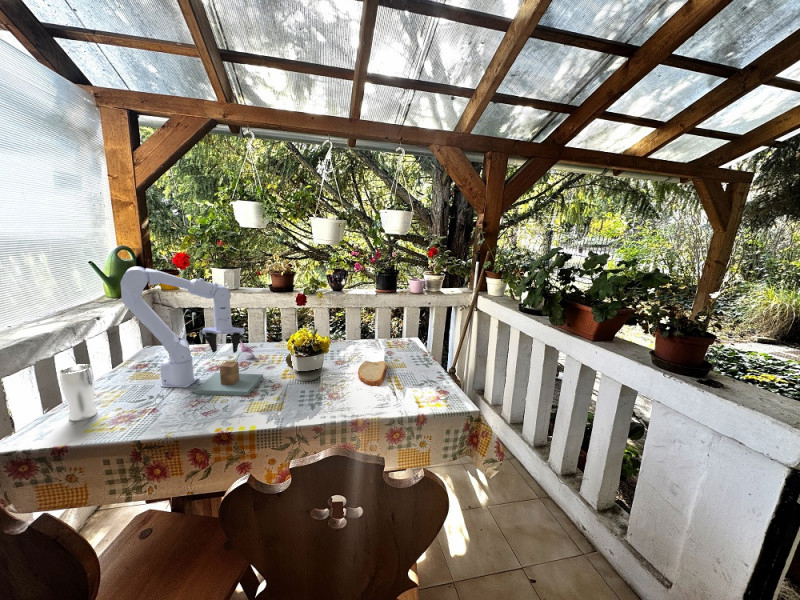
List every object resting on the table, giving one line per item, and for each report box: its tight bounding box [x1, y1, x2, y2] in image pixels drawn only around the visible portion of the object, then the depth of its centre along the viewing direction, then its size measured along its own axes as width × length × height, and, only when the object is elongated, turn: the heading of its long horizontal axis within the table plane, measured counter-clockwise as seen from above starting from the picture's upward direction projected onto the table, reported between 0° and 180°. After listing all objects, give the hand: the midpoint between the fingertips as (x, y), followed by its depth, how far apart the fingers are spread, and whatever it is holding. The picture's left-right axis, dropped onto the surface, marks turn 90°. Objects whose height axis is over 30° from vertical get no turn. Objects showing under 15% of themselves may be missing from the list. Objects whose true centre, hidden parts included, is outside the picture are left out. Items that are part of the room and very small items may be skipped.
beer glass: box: [59, 363, 98, 422], centre depth 98 cm, size 7×7×15 cm
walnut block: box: [219, 360, 240, 385], centre depth 120 cm, size 4×4×7 cm
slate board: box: [193, 372, 264, 396], centre depth 122 cm, size 18×14×2 cm
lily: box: [235, 339, 256, 361], centre depth 146 cm, size 12×12×10 cm
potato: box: [285, 353, 294, 370], centre depth 136 cm, size 8×13×8 cm, turn 94°
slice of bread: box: [357, 360, 388, 387], centre depth 137 cm, size 18×18×4 cm
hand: (224, 351), depth 128 cm, fingers open, 7 cm apart
